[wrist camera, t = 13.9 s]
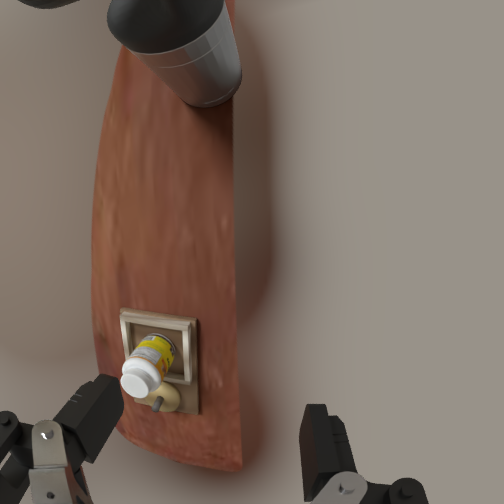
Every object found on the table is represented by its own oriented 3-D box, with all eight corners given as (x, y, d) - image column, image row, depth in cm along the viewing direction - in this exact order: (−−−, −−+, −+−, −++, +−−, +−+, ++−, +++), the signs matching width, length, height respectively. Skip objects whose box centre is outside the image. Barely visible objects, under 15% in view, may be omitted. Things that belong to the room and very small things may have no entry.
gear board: (122, 307, 41) (106, 322, 35) (196, 318, 40) (187, 336, 35) (136, 398, 45) (125, 417, 39) (199, 411, 44) (192, 432, 39)
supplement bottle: (169, 368, 41) (147, 409, 31) (138, 350, 41) (110, 387, 31) (182, 344, 40) (160, 385, 30) (149, 325, 40) (120, 361, 30)
